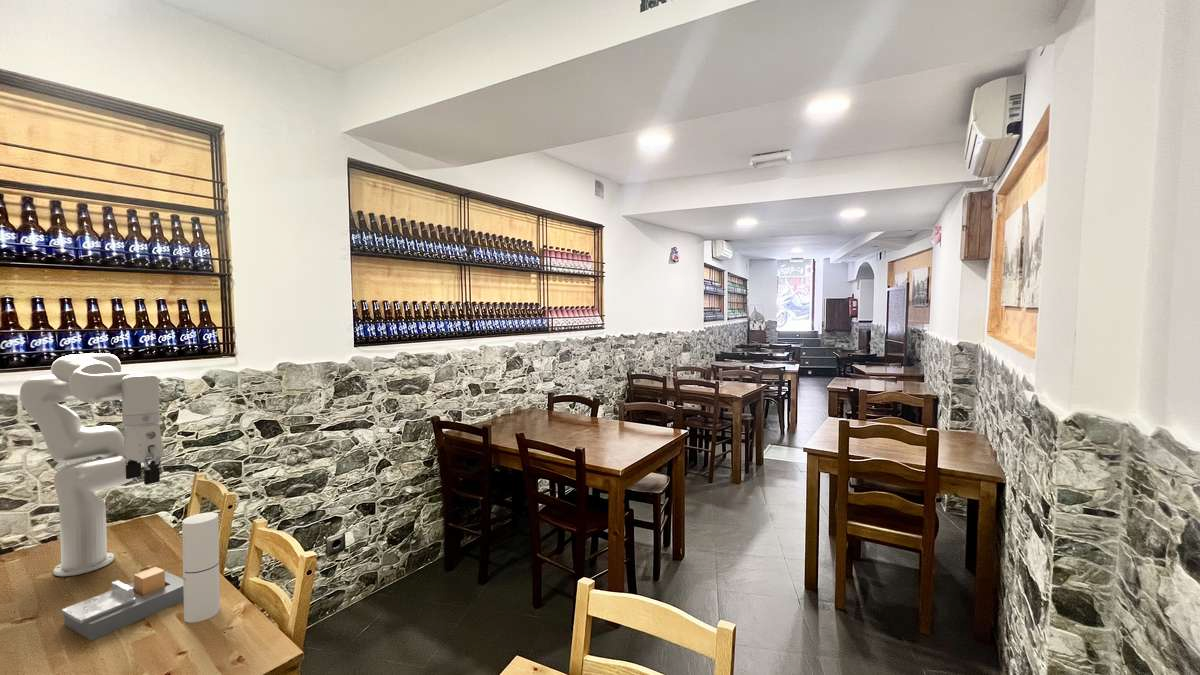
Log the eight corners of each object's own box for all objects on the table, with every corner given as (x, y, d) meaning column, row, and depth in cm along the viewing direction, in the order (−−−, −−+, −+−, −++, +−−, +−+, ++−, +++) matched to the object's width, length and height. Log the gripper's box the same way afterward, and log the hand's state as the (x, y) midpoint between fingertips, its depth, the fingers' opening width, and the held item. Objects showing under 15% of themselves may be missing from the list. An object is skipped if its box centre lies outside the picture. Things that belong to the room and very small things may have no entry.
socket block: (64, 624, 120) (63, 608, 120) (164, 584, 138) (163, 570, 138) (91, 640, 114) (91, 624, 114) (191, 596, 132) (191, 582, 132)
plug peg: (134, 604, 129) (133, 574, 128) (156, 595, 133) (155, 566, 133) (143, 609, 127) (142, 578, 126) (165, 599, 131) (164, 570, 131)
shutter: (61, 612, 118) (61, 599, 118) (115, 591, 127) (115, 579, 127) (80, 624, 114) (80, 610, 114) (135, 601, 123) (135, 588, 123)
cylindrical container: (199, 624, 121) (197, 525, 120) (176, 620, 122) (174, 522, 121) (227, 607, 128) (225, 513, 127) (204, 604, 129) (203, 511, 128)
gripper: (175, 420, 135) (176, 481, 135) (142, 413, 142) (143, 472, 142) (140, 425, 128) (141, 489, 128) (107, 418, 135) (109, 479, 136)
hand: (142, 480), depth 135 cm, fingers open, 9 cm apart
